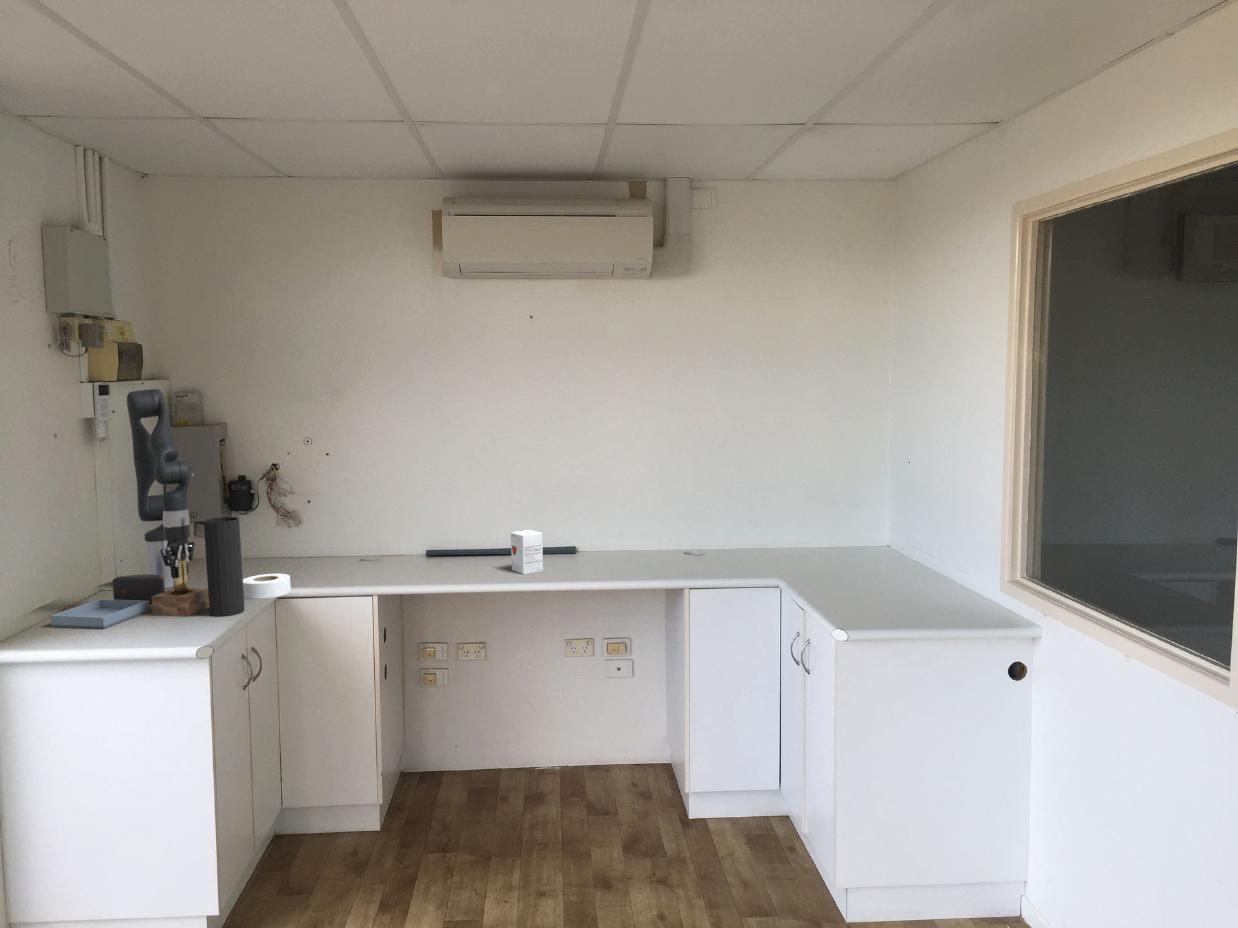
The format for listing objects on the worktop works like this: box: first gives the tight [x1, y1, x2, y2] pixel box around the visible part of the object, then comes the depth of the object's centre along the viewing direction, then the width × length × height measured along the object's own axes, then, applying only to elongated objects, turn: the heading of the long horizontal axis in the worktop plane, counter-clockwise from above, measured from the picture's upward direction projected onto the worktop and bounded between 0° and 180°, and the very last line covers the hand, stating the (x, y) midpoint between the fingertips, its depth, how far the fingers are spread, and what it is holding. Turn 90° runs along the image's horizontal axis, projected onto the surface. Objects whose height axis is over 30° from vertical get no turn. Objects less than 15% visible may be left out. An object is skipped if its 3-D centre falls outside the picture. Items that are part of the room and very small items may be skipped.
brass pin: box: [173, 554, 189, 595], centre depth 284 cm, size 4×4×15 cm
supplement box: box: [510, 529, 544, 575], centre depth 334 cm, size 9×9×15 cm
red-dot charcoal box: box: [112, 573, 166, 605], centre depth 295 cm, size 16×5×9 cm, turn 96°
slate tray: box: [50, 598, 151, 630], centre depth 276 cm, size 20×18×4 cm
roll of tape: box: [243, 573, 292, 600], centre depth 306 cm, size 16×16×6 cm
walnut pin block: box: [151, 587, 209, 617], centre depth 284 cm, size 12×12×6 cm
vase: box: [203, 516, 246, 618], centre depth 280 cm, size 10×10×30 cm
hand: (179, 576), depth 284 cm, fingers closed on brass pin, 4 cm apart
